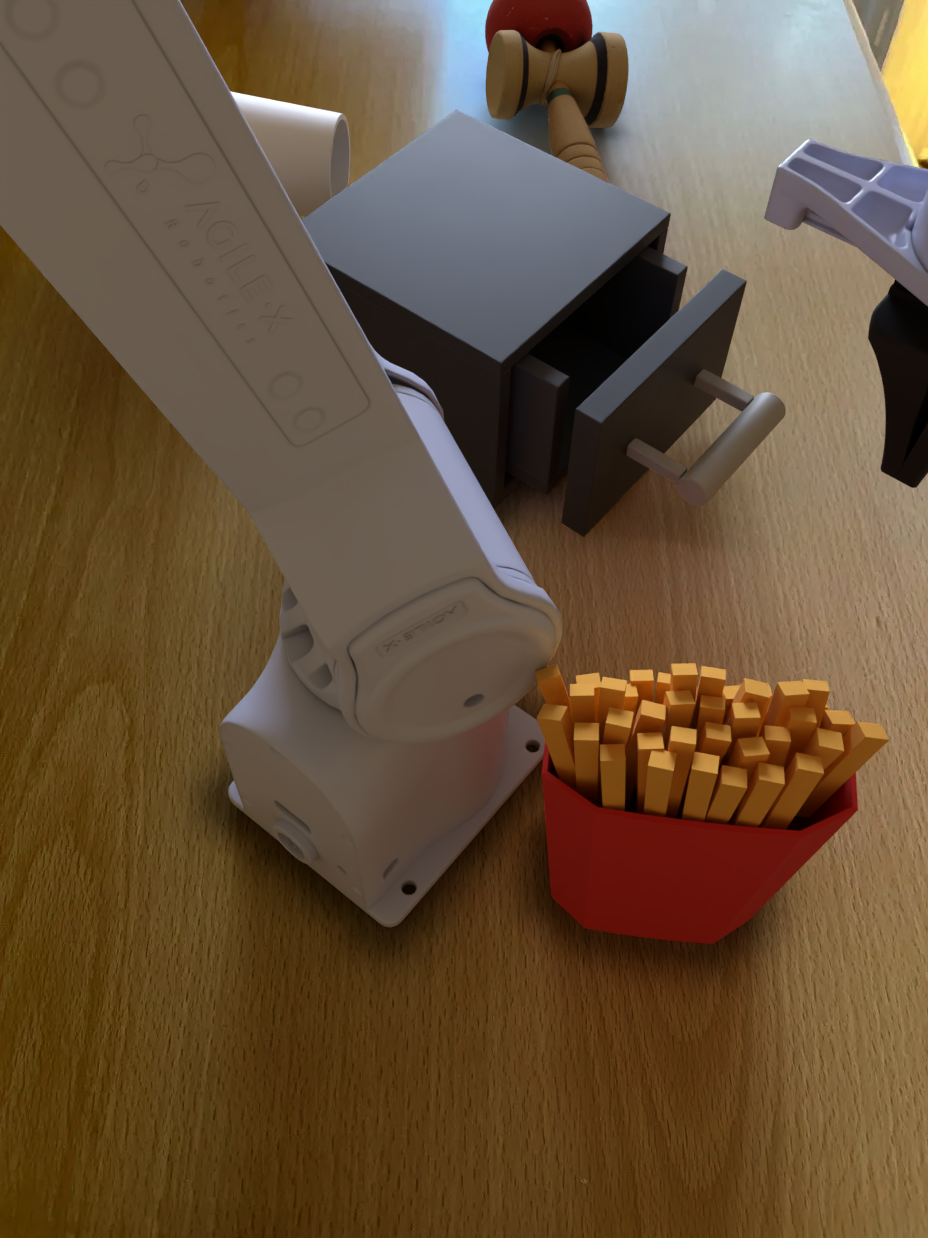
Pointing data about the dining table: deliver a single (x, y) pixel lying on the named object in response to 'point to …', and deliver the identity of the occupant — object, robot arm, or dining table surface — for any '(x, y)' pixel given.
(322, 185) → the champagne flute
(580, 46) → the kendama
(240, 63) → the dining table surface
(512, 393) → the drawer
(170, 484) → the dining table surface
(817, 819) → the french fries
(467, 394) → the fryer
